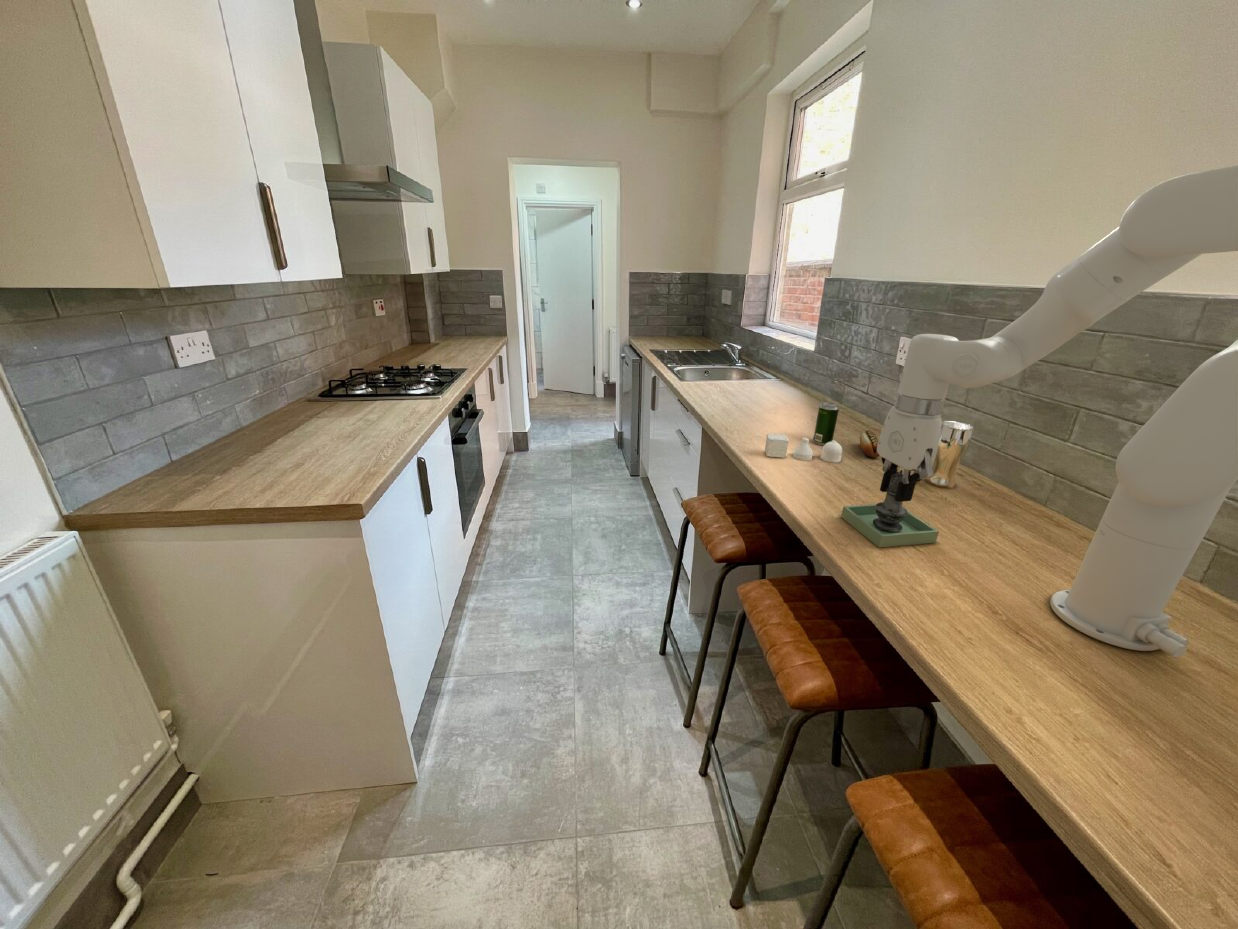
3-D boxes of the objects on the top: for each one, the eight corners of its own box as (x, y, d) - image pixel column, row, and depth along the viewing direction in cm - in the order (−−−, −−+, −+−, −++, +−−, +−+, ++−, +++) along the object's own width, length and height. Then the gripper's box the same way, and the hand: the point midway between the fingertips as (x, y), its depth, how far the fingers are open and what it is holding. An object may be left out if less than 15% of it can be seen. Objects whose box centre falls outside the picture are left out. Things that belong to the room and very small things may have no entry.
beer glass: (950, 491, 116) (969, 431, 110) (919, 482, 121) (935, 424, 115) (960, 483, 120) (978, 425, 114) (929, 475, 125) (945, 418, 119)
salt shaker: (908, 533, 95) (924, 477, 90) (875, 530, 96) (889, 474, 91) (898, 519, 100) (913, 465, 95) (867, 516, 101) (880, 462, 97)
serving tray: (935, 542, 94) (939, 531, 93) (878, 547, 92) (881, 535, 91) (892, 513, 105) (895, 502, 104) (840, 516, 103) (843, 506, 102)
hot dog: (862, 459, 134) (866, 442, 133) (855, 443, 146) (859, 428, 144) (882, 461, 133) (886, 444, 131) (873, 445, 145) (877, 429, 143)
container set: (766, 457, 134) (769, 439, 132) (764, 451, 139) (767, 432, 137) (843, 463, 132) (847, 444, 129) (837, 456, 136) (841, 437, 134)
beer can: (827, 447, 143) (834, 407, 138) (809, 442, 146) (816, 403, 142) (834, 443, 146) (842, 404, 142) (817, 438, 150) (824, 400, 145)
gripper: (870, 394, 95) (851, 479, 102) (935, 418, 80) (908, 517, 87) (904, 393, 97) (883, 477, 104) (974, 417, 82) (944, 514, 88)
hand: (895, 495), depth 95 cm, fingers closed on salt shaker, 3 cm apart
